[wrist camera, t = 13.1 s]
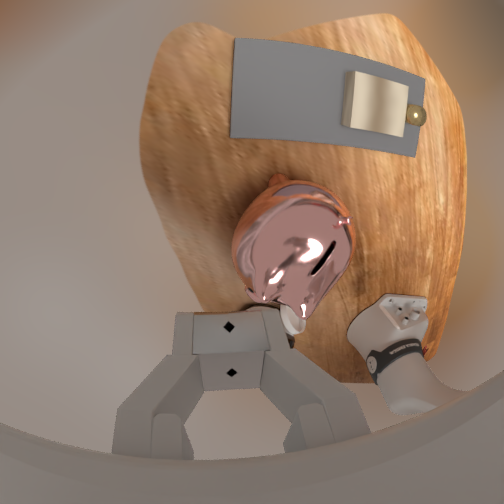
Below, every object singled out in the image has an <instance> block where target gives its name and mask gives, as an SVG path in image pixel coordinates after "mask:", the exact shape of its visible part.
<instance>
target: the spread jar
mask: <svg viewBox="0 0 504 504" xmlns="http://www.w3.org/2000/svg"><path fill="white" fill-rule="evenodd" d="M263 309H276V308H274V307H272V306H269V305H264V304H260V305H254V306H251V307H249V308H247V309H246V310H245V311H250V310H263ZM279 313H280V316H281V320H282V323H283V326H284V329H285V333H286V336H287V339H288V343H289V346H290V349H293V347H294V343H295V339H294V334H298V333H301V332H303V331H304V330H305V327H306V320H302V319H300V318H299V317H298V316H297V315H296V314H295V313H294V311H293V310H292V309H291V308H290V307H289V306H285V305H281V306H280V311H279Z"/></svg>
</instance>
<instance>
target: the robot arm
mask: <svg viewBox="0 0 504 504" xmlns="http://www.w3.org/2000/svg"><path fill="white" fill-rule="evenodd" d="M426 308H427V299H426V297H421V296H408V295H397V294H385V295H383V296H382V297H381V298H380V299H379V300H378V301H377V302H376V303H375V304H374V305H372V306H370V307H369V308H367V309H366V310H364V311H363V312H362V313H360V314H359V315H358V316H357V317H356V318H355V319H354V321H353V322H352V323H351V325H350V327H349V329H348V332H347V339H348V341H349V342H350V343H351V344H352V345H353V346H354V347H355V348H356V349H357V350H358V352H359V353H360V354H361V356H362V357H363V359H364V360H365V362H366V364H367V367H368V370H369V372H370V374H371V377H372V378H373V380H374V382H375V384H376V385H378V386H379V388H380V390H381V392H382V395H383V397H384V399H385V401H386V403H387V406H388V408H389V409H390V410H391V411H392V412H393V413H395V414H398V415H409V414H415V413H421V412H423V414H421V415H419V416H416V417H414V418H412V419H409V420H406V421H404V422H401V423H399V424H396V425H393V426H390V427H388V428H385V429H382V430H379V431H376V432H373V433H371V432H370V429H369V426H368V424H367V421H366V419H365V417H364V414H363V412H362V409H361V407H360V404H359V402H358V399H357V397H356V394H355V393H353V392H352V391H350V390H349V389H348V388H347V387H345V386H344V385H342V384H341V383H340V382H339V381H337V380H336V379H335V378H333V377H332V376H331V375H329V374H328V373H327V372H325V371H324V370H323V369H321V368H320V367H319V366H317V365H316V364H315V363H313V362H312V361H311V360H310V359H308V358H307V357H306V356H304V355H303V354H302V353H301V352H299V351H298V350H297V349H290V346H289V343H288V339H287V336H286V333H285V329H284V326H283V323H282V320H281V316H280V313H279V310H278V309H263V310H250V311H232V312H194V313H193V312H177V314H176V319H175V328H174V340H173V350H172V355H166V357H165V358H164V359H163V360H162V361H161V362H160V363H159V364H158V365H157V366H156V368H155V369H154V370H153V371H152V372H151V373H150V374H149V375H148V376H147V377H146V379H144V381H143V382H142V383H141V384H140V385H139V386H138V387H137V388H136V389H135V390H134V391H133V393H132V394H131V395H130V396H129V397H128V398H127V399H126V400H125V401H124V402H123V404H121V406H120V407H119V408H118V409H117V415H116V422H115V429H114V438H113V445H112V454H111V453H105V452H99V451H93V450H89V449H83V448H79V447H74V446H70V445H66V444H62V443H59V442H55V441H51V440H48V439H44V438H41V437H38V436H35V435H32V434H29V433H26V432H23V431H20V430H18V429H15V428H12V427H10V426H7V425H5V424H2V423H0V504H504V370H503V371H502V372H500V373H499V374H497V375H496V376H494V377H492V378H491V379H489V380H487V381H486V382H484V383H482V384H481V385H479V386H477V387H476V388H474V389H472V390H470V391H462V390H456V389H453V388H450V387H448V386H447V385H445V384H444V383H442V382H441V381H440V380H439V379H438V378H437V377H436V375H435V374H434V373H433V372H432V370H431V369H430V367H429V366H428V364H427V363H426V361H425V360H424V355H425V353H426V352H427V350H428V349H427V350H426V347H427V346H425V347H424V349H423V350H422V346H421V342H422V339H423V337H424V335H425V332H426V330H427V327H428V318H427V315H426V314H425V311H426ZM425 350H426V351H425ZM250 388H260V390H261V391H262V392H263V393H264V394H265V395H266V396H267V397H268V399H270V401H271V402H272V403H273V404H274V405H275V406H276V407H277V408H278V409H279V410H280V411H281V413H282V414H283V415H284V416H285V417H286V418H287V419H288V420H289V421H290V422H291V423H292V425H291V427H290V429H289V431H288V434H287V436H286V438H285V440H284V442H283V445H284V450H285V453H283V454H276V455H268V456H260V457H250V458H239V459H223V460H194V452H193V448H192V446H191V443H190V440H189V438H188V435H187V433H186V430H185V427H184V424H185V422H186V420H187V419H188V417H189V415H190V414H191V413H192V411H193V409H194V408H195V406H196V405H197V403H198V401H199V400H200V398H201V397H202V395H203V393H204V391H214V390H228V389H250Z"/></svg>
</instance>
